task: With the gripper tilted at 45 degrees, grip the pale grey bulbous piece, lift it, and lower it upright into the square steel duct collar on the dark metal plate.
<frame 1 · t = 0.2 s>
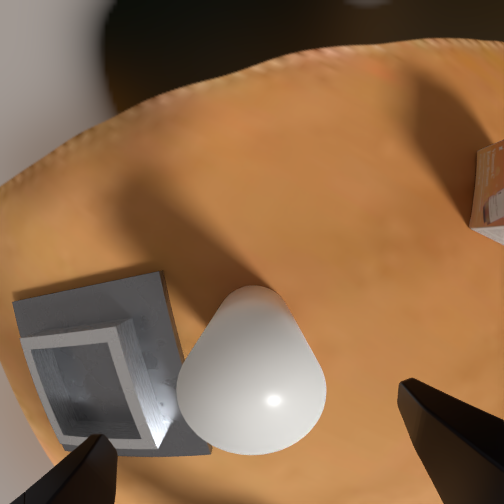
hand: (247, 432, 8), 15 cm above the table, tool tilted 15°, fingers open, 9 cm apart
small box: (490, 199, 23), on the table
duct collar: (102, 377, 23), on the table
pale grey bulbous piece: (253, 321, 23), on the table
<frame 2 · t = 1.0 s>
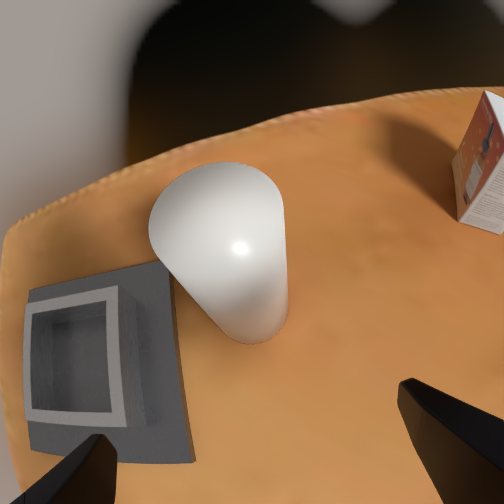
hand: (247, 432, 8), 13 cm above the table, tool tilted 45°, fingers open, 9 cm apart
small box: (475, 199, 25), on the table
duct collar: (93, 367, 22), on the table
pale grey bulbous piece: (251, 308, 23), on the table
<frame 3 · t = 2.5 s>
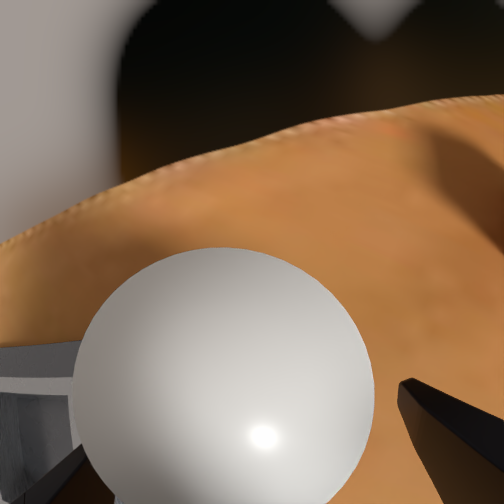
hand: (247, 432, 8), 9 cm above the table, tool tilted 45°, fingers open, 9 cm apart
duct collar: (67, 455, 14), on the table
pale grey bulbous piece: (265, 404, 16), on the table
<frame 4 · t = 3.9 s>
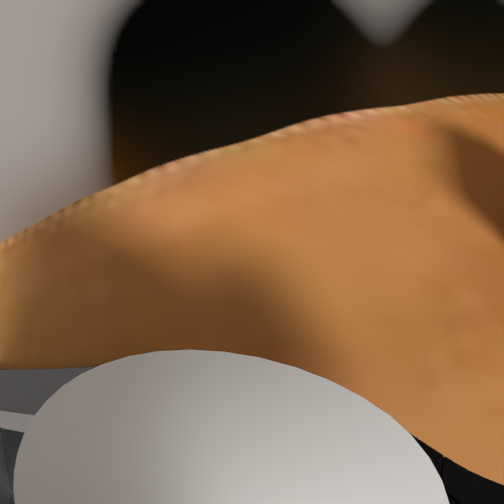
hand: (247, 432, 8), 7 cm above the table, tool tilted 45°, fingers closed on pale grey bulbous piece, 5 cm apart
duct collar: (55, 488, 12), on the table
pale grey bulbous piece: (270, 446, 13), on the table, touching gripper
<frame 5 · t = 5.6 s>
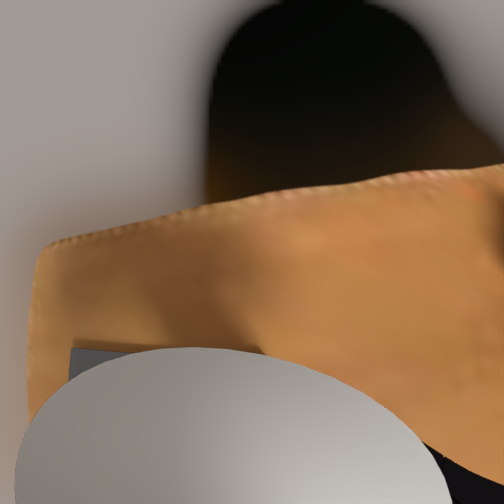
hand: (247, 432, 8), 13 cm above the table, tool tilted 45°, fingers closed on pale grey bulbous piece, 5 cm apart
duct collar: (158, 458, 18), on the table
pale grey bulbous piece: (271, 445, 13), point 6 cm above the table, touching gripper
when the fingers open (9 cm above the table, at t = 7.6 s): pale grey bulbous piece drops 1 cm, resting on duct collar.
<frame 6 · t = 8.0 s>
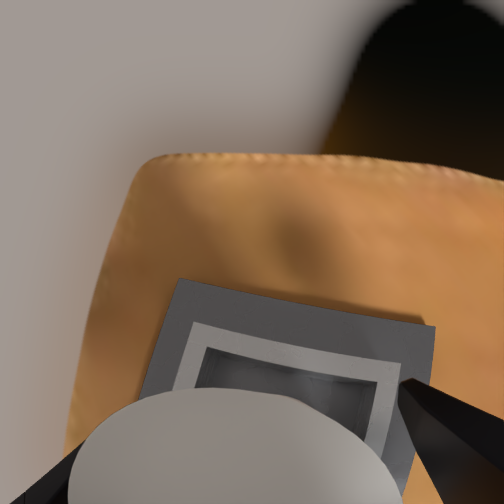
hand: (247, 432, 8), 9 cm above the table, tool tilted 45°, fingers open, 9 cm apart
duct collar: (273, 440, 15), on the table
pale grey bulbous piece: (273, 443, 14), point 1 cm above the table, touching duct collar
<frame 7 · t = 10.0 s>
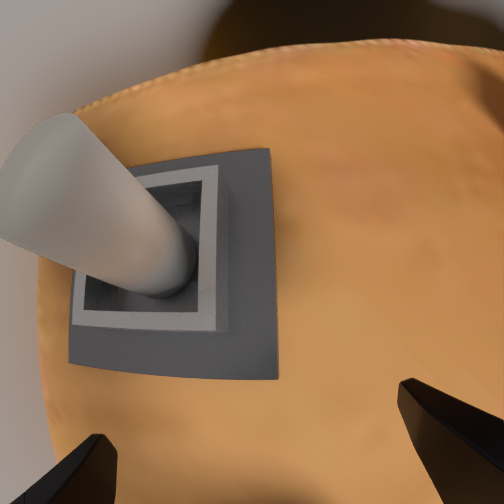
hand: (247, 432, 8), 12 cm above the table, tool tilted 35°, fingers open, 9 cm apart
duct collar: (164, 262, 22), on the table
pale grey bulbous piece: (158, 259, 21), point 1 cm above the table, touching duct collar
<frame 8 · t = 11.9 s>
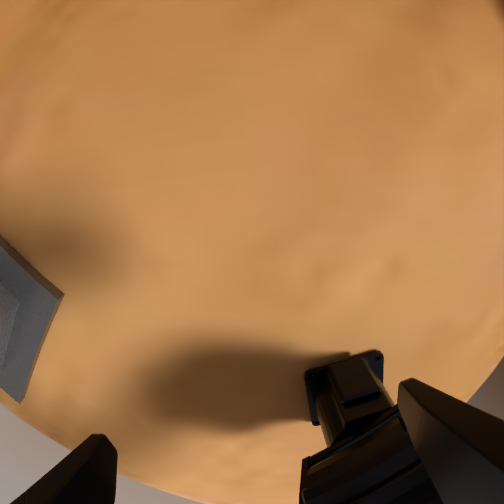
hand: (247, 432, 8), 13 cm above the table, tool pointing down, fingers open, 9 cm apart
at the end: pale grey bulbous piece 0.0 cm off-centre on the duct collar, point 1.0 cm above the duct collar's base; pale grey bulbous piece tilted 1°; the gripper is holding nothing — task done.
